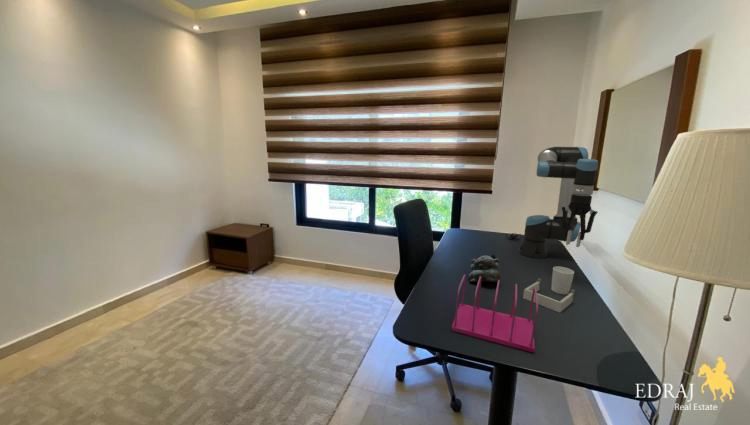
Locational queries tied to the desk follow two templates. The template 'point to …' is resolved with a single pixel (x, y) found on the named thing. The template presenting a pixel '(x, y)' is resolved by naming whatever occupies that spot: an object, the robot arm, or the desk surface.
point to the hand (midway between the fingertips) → (572, 245)
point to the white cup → (562, 280)
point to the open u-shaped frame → (548, 301)
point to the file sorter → (496, 322)
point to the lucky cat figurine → (485, 269)
